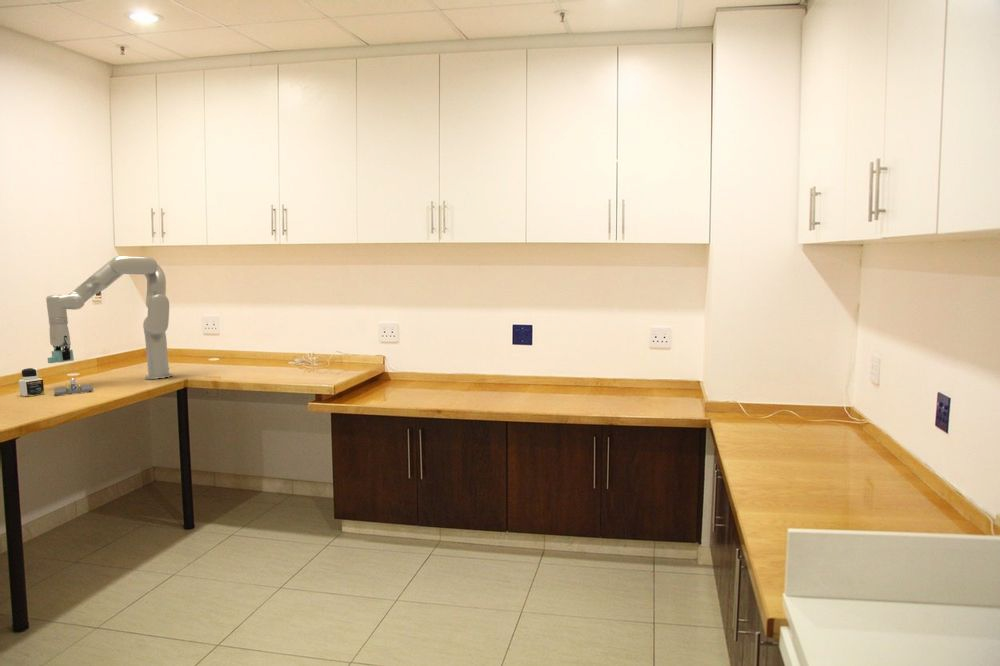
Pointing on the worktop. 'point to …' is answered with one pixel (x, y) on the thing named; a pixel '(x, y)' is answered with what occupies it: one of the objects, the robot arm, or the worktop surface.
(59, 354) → the teal hollow square block
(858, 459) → the worktop surface
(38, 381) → the medicine bottle
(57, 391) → the post base
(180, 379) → the worktop surface
